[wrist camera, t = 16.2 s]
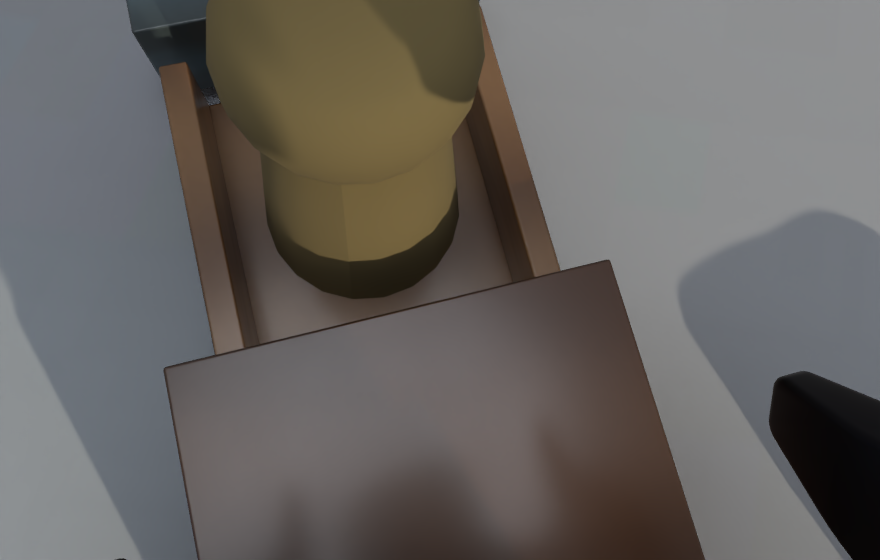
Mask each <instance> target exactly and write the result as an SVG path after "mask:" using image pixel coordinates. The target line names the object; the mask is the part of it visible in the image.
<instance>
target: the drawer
mask: <svg viewBox="0 0 880 560" xmlns="http://www.w3.org/2000/svg"><path fill="white" fill-rule="evenodd" d="M479 1H480V0H478V2H479ZM126 2H127V7H128V12H129V18H130V23H131V28H132V33H133V34H134V36H135V37H136V39H137V41H138V42H139V44H140V46H141V47H142V49H143V50H144V52H145V54H146V55H147V57H148V58H149V60H150V62H151V63H152V65H153V67H154V68H155V70H156V71H157V73H158V75H159V76H160V78H161V83H162V88H163V93H164V98H165V103H166V108H167V113H168V119H169V124H170V129H171V134H172V139H173V144H174V149H175V154H176V159H177V164H178V169H179V174H180V179H181V184H182V190H183V195H184V200H185V205H186V210H187V215H188V220H189V225H190V230H191V235H192V240H193V245H194V250H195V255H196V261H197V266H198V271H199V276H200V281H201V286H202V291H203V296H204V301H205V306H206V311H207V316H208V321H209V326H210V332H211V337H212V342H213V347H214V352H215V355H217V354H221V353H225V352H229V351H234V350H238V349H242V348H246V347H250V346H254V345H258V344H262V343H266V342H270V341H275V340H279V339H283V338H287V337H291V336H295V335H299V334H303V333H307V332H312V331H316V330H320V329H324V328H328V327H332V326H336V325H340V324H344V323H349V322H353V321H357V320H361V319H365V318H369V317H373V316H377V315H381V314H385V313H390V312H394V311H398V310H402V309H406V308H410V307H414V306H418V305H422V304H427V303H431V302H435V301H439V300H443V299H447V298H451V297H455V296H459V295H463V294H468V293H472V292H476V291H480V290H484V289H488V288H492V287H496V286H500V285H505V284H509V283H513V282H517V281H521V280H525V279H529V278H533V277H537V276H541V275H546V274H550V273H554V272H558V271H561V270H560V267H559V264H558V260H557V257H556V254H555V250H554V247H553V244H552V241H551V237H550V234H549V231H548V227H547V224H546V221H545V217H544V214H543V211H542V207H541V204H540V201H539V198H538V194H537V191H536V188H535V184H534V181H533V178H532V174H531V171H530V168H529V164H528V161H527V158H526V155H525V151H524V148H523V145H522V141H521V138H520V135H519V131H518V128H517V125H516V121H515V118H514V115H513V112H512V108H511V105H510V102H509V98H508V95H507V92H506V88H505V85H504V82H503V78H502V75H501V72H500V69H499V65H498V62H497V59H496V55H495V52H494V49H493V45H492V42H491V39H490V35H489V32H488V29H487V26H486V22H485V19H484V16H483V12H482V9H481V7H480V5H479V7H480V12H481V17H482V27H483V37H484V48H485V58H484V62H483V66H482V70H481V74H480V78H479V81H478V85H477V89H476V93H475V97H474V100H473V104H472V107H471V109H470V111H469V112H468V114H467V115H466V117H465V118H464V119H463V121H462V122H461V124H460V125H459V127H458V128H457V130H456V131H455V133H454V134H453V136H452V143H453V153H454V163H455V173H456V183H457V194H458V206H459V218H458V222H457V226H456V230H455V234H454V238H453V242H452V244H451V245H450V247H449V249H448V250H447V252H446V253H445V255H444V256H443V258H442V259H441V261H440V262H439V264H438V266H437V267H436V268H435V269H434V270H433V271H431V272H430V273H429V274H428V275H426V276H425V277H424V278H423V279H421V280H420V281H419V282H418V283H416V284H415V285H414V286H413V287H410V288H407V289H405V290H402V291H399V292H397V293H394V294H392V295H389V296H386V297H383V298H365V299H350V298H346V297H342V296H338V295H334V294H330V293H327V292H323V291H321V290H319V289H318V288H316V287H315V286H313V285H312V284H310V283H308V282H307V281H305V280H304V279H302V278H300V277H299V276H297V275H296V274H295V273H294V271H293V270H292V269H291V268H290V266H289V265H288V264H287V263H286V262H285V260H284V259H283V258H282V257H281V255H280V254H279V253H278V252H277V249H276V246H275V244H274V241H273V238H272V236H271V233H270V230H269V228H268V225H267V217H266V207H265V197H264V187H263V177H262V167H261V157H260V151H258V150H257V149H255V148H254V147H253V146H252V145H251V143H250V142H249V141H248V140H247V139H246V137H245V136H244V135H243V134H242V133H241V131H240V130H239V129H238V128H237V127H236V125H235V124H234V123H233V122H232V121H231V119H230V118H229V117H228V116H227V114H226V112H225V110H224V108H223V106H222V104H221V103H219V104H214V105H209V104H208V102H207V100H206V98H205V97H204V95H203V93H202V91H201V89H205V88H210V87H215V86H214V83H213V81H212V78H211V75H210V73H209V70H208V67H207V65H206V6H207V3H208V0H126Z"/></svg>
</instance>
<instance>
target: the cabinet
mask: <svg viewBox="0 0 880 560" xmlns="http://www.w3.org/2000/svg"><path fill="white" fill-rule="evenodd" d="M164 376H165V381H166V387H167V392H168V398H169V403H170V409H171V414H172V420H173V425H174V431H175V436H176V442H177V447H178V453H179V458H180V464H181V469H182V475H183V480H184V486H185V491H186V497H187V503H188V508H189V514H190V519H191V525H192V530H193V536H194V541H195V547H196V552H197V558H198V560H705V558H704V555H703V552H702V548H701V545H700V542H699V539H698V536H697V533H696V530H695V526H694V523H693V520H692V517H691V514H690V511H689V508H688V504H687V501H686V498H685V495H684V492H683V489H682V486H681V482H680V479H679V476H678V473H677V470H676V467H675V463H674V460H673V457H672V454H671V451H670V448H669V445H668V441H667V438H666V435H665V432H664V429H663V426H662V423H661V419H660V416H659V413H658V410H657V407H656V404H655V401H654V397H653V394H652V391H651V388H650V385H649V382H648V378H647V375H646V372H645V369H644V366H643V363H642V360H641V356H640V353H639V350H638V347H637V344H636V341H635V338H634V334H633V331H632V328H631V325H630V322H629V319H628V316H627V312H626V309H625V306H624V303H623V300H622V297H621V293H620V290H619V287H618V284H617V281H616V278H615V275H614V271H613V268H612V265H611V262H610V260H603V261H599V262H595V263H591V264H587V265H583V266H578V267H574V268H570V269H566V270H562V271H558V272H554V273H550V274H546V275H541V276H537V277H533V278H529V279H525V280H521V281H517V282H513V283H509V284H505V285H500V286H496V287H492V288H488V289H484V290H480V291H476V292H472V293H468V294H463V295H459V296H455V297H451V298H447V299H443V300H439V301H435V302H431V303H427V304H422V305H418V306H414V307H410V308H406V309H402V310H398V311H394V312H390V313H385V314H381V315H377V316H373V317H369V318H365V319H361V320H357V321H353V322H349V323H344V324H340V325H336V326H332V327H328V328H324V329H320V330H316V331H312V332H307V333H303V334H299V335H295V336H291V337H287V338H283V339H279V340H275V341H270V342H266V343H262V344H258V345H254V346H250V347H246V348H242V349H238V350H234V351H229V352H225V353H221V354H217V355H213V356H209V357H205V358H201V359H197V360H192V361H188V362H184V363H180V364H176V365H172V366H168V367H165V368H164Z"/></svg>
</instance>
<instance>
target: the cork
mask: <svg viewBox="0 0 880 560" xmlns="http://www.w3.org/2000/svg"><path fill="white" fill-rule="evenodd" d="M484 58H485V48H484V37H483V27H482V17H481V12H480V7H479V2H478V0H208V3H207V6H206V65H207V67H208V70H209V73H210V75H211V78H212V81H213V83H214V86H215V89H216V91H217V94H218V97H219V100H220V102H221V104H222V106H223V108H224V110H225V112H226V114H227V116H228V117H229V118H230V119H231V121H232V122H233V123H234V124H235V125H236V127H237V128H238V129H239V130H240V131H241V133H242V134H243V135H244V136H245V137H246V139H247V140H248V141H249V142H250V143H251V145H252V146H253V147H254V148H255V149H257V150H258V151H260V157H261V167H262V177H263V187H264V197H265V207H266V217H267V225H268V228H269V230H270V233H271V236H272V238H273V241H274V244H275V246H276V249H277V252H278V253H279V254H280V255H281V257H282V258H283V259H284V260H285V262H286V263H287V264H288V265H289V266H290V268H291V269H292V270H293V271H294V273H295V274H296V275H297V276H299V277H300V278H302V279H304V280H305V281H307V282H308V283H310V284H312V285H313V286H315V287H316V288H318V289H319V290H321V291H323V292H327V293H330V294H334V295H338V296H342V297H346V298H350V299H365V298H383V297H386V296H389V295H392V294H394V293H397V292H399V291H402V290H405V289H407V288H410V287H413V286H414V285H415V284H416V283H418V282H419V281H420V280H421V279H423V278H424V277H425V276H426V275H428V274H429V273H430V272H431V271H433V270H434V269H435V268H436V267H437V266H438V264H439V262H440V261H441V259H442V258H443V256H444V255H445V253H446V252H447V250H448V249H449V247H450V245H451V244H452V242H453V238H454V234H455V230H456V226H457V222H458V218H459V206H458V194H457V183H456V173H455V163H454V153H453V143H452V136H453V134H454V133H455V131H456V130H457V128H458V127H459V125H460V124H461V122H462V121H463V119H464V118H465V117H466V115H467V114H468V112H469V111H470V109H471V107H472V104H473V100H474V97H475V93H476V89H477V85H478V81H479V78H480V74H481V70H482V66H483V62H484Z"/></svg>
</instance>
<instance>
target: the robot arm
mask: <svg viewBox="0 0 880 560" xmlns="http://www.w3.org/2000/svg"><path fill="white" fill-rule="evenodd" d="M769 425H770V429H771V432H772V434H773V437H774V438H775V440H776V442H777V443H778V445H779V447H780V448H781V450H782V452H783V453H784V455H785V457H786V458H787V460H788V461H789V463H790V465H791V466H792V468H793V470H794V471H795V473H796V475H797V476H798V478H799V480H800V481H801V483H802V485H803V486H804V488H805V489H806V491H807V493H808V494H809V496H810V498H811V499H812V501H813V503H814V504H815V506H816V508H817V509H818V511H819V512H820V514H821V516H822V517H823V519H824V520H825V522H826V523H827V525H828V526H829V528H830V529H831V531H832V532H833V534H834V535H835V536H836V538H837V539H838V541H839V542H840V543H841V545H842V546H843V547H844V549H845V550H846V551H847V553H848V554H849V555H850V557H851V558H852V559H853V560H880V401H879V400H876V399H874V398H871V397H869V396H867V395H864V394H862V393H859V392H857V391H854V390H852V389H849V388H847V387H845V386H842V385H840V384H837V383H835V382H832V381H830V380H827V379H825V378H823V377H820V376H818V375H815V374H813V373H810V372H806V371H800V372H796V373H792V374H789V375H785V376H782V377H779V378H778V379H777V380H776V381H775V383H774V387H773V394H772V401H771V408H770V415H769ZM116 560H126V559H124V558H123V559H116Z"/></svg>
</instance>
